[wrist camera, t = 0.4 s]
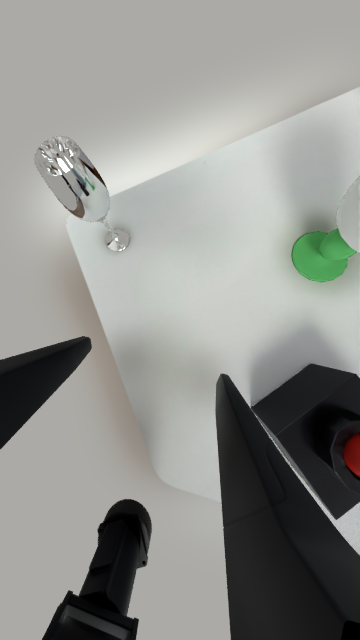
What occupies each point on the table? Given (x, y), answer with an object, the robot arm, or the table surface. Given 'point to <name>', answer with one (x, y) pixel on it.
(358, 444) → the button
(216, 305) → the table surface
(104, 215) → the wineglass
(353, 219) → the cup
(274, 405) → the control block
